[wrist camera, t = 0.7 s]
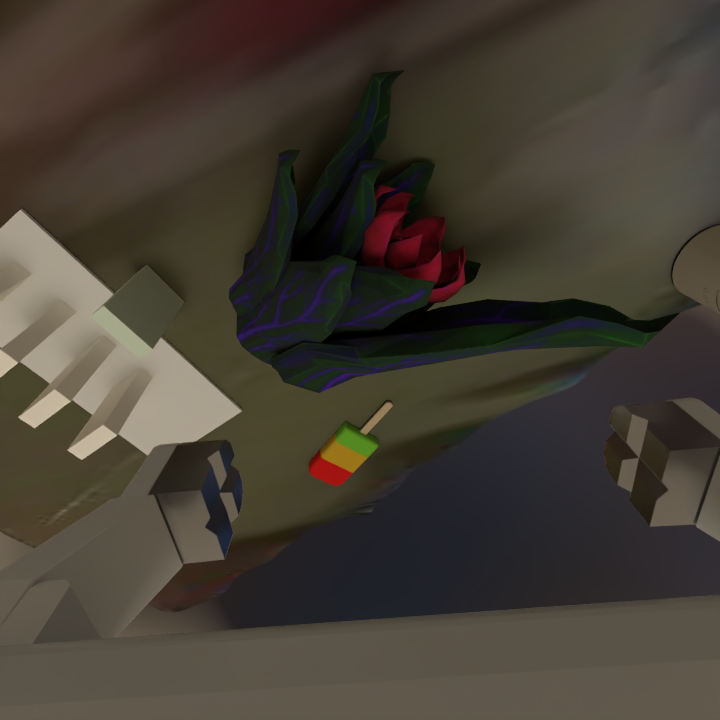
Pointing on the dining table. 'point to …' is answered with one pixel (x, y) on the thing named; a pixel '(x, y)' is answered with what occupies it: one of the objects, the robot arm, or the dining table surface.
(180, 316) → the dining table surface
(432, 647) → the robot arm
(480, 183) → the dining table surface
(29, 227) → the mat
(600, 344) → the decorative plant
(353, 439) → the popsicle
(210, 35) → the dining table surface
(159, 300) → the domino
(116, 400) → the domino
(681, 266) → the travel mug
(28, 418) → the domino
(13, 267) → the domino
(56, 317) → the domino
